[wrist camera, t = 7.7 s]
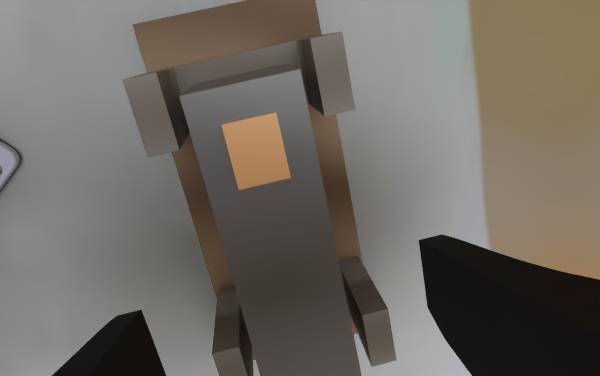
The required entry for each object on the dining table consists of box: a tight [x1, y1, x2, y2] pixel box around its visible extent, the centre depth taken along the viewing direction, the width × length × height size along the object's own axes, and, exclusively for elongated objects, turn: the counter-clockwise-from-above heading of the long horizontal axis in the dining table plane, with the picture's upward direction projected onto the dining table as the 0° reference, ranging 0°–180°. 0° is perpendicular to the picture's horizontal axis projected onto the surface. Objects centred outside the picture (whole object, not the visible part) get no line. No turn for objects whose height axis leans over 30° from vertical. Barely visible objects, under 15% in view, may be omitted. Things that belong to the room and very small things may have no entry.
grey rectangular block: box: [179, 64, 361, 376], centre depth 17 cm, size 12×4×5 cm, turn 12°
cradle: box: [123, 0, 396, 376], centre depth 18 cm, size 16×7×6 cm, turn 12°
